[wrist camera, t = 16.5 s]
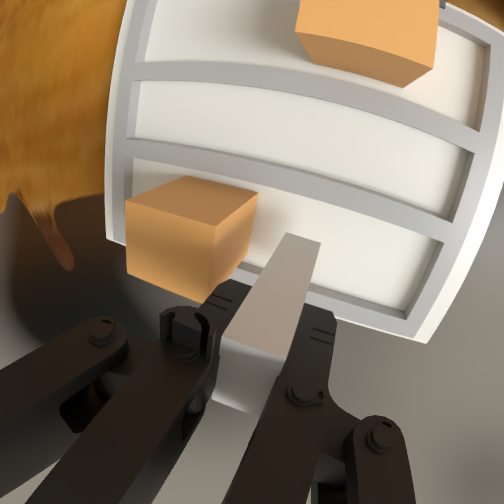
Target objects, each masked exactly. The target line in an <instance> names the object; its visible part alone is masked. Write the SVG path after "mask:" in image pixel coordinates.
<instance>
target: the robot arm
mask: <svg viewBox="0 0 504 504" xmlns="http://www.w3.org/2000/svg"><path fill="white" fill-rule="evenodd" d="M320 245H321V243H320V242H317V241H313V240H310V239H307V238H304V237H301V236H297V235H294V234H291V233H288V232H286V233H285V234H284V236H283V238H282V239H281V241H280V243H279V244H278V246H277V248H276V249H275V251H274V253H273V254H272V256H271V257H270V259H269V261H268V262H267V264H266V266H265V267H264V269H263V270H262V272H261V274H260V275H259V277H258V279H257V280H256V282H255V283H254V285H253V286H250V285H247V284H244V283H241V282H239V281H236V280H233V279H228V280H226V281H224V282H222V283H220V284H218V285H217V286H216V288H215V289H214V290H213V291H212V293H211V295H209V296H208V297H207V299H206V300H205V302H203V304H202V305H201V306H200V307H199V308H195V307H191V306H176V307H172V308H168V309H166V310H165V311H163V312H162V313H160V340H151V339H144V338H139V337H134V336H129V335H127V332H126V328H125V327H124V325H123V324H122V323H121V322H120V321H118V320H116V319H115V318H110V317H106V316H104V317H95V318H92V319H90V320H87V321H85V322H84V323H82V324H80V325H78V326H76V327H75V328H73V329H71V330H69V331H68V332H66V333H64V334H62V335H61V336H59V337H57V338H55V339H53V340H52V341H50V342H48V343H46V344H45V345H43V346H41V347H39V348H37V349H36V350H34V351H32V352H30V353H29V354H27V355H25V356H24V357H22V358H20V359H18V360H17V361H15V362H13V363H11V364H10V365H8V366H6V367H5V368H3V369H1V370H0V498H1V497H3V496H4V495H6V494H8V493H9V492H11V491H12V490H14V489H16V488H17V487H19V486H20V485H22V484H23V483H25V482H27V481H28V480H29V479H31V478H33V477H34V476H36V475H37V474H38V473H40V472H42V471H43V470H44V469H46V468H47V467H49V466H50V465H52V464H53V463H55V462H56V461H58V460H59V459H60V458H61V459H60V460H59V461H58V463H57V464H56V465H55V467H54V468H53V469H52V470H51V471H50V473H49V474H48V475H47V476H46V477H45V479H44V480H43V481H42V482H41V484H40V485H39V486H38V487H37V489H36V490H35V491H34V492H33V494H32V495H31V496H30V497H29V499H28V500H27V501H26V503H25V504H151V503H152V502H153V500H154V498H155V497H156V495H157V494H158V492H159V490H160V489H161V487H162V485H163V484H164V481H165V480H166V479H167V477H168V475H169V474H170V472H171V470H172V469H173V467H174V465H175V464H176V462H177V460H178V459H179V457H180V455H181V453H182V452H183V450H184V448H185V446H186V445H187V443H188V441H189V440H190V438H191V436H192V434H193V432H194V431H195V429H196V427H197V425H198V424H199V422H200V420H201V418H202V417H203V415H204V412H205V408H206V403H207V401H208V400H209V398H210V396H211V394H212V392H213V395H212V399H213V400H215V401H218V402H220V403H223V404H225V405H228V406H230V407H233V408H236V409H238V410H241V411H243V412H246V413H249V414H252V415H255V416H258V417H260V419H259V421H258V423H257V426H256V428H255V430H254V432H253V434H252V437H251V439H250V441H249V443H248V447H247V449H246V451H245V453H244V456H243V458H242V460H241V462H240V465H239V467H238V469H237V472H236V474H235V476H234V478H233V480H232V482H231V484H230V487H229V489H228V491H227V493H226V495H225V497H224V500H223V501H222V503H221V504H306V501H307V497H308V494H309V490H310V487H311V504H416V500H415V494H414V487H413V482H412V475H411V470H410V465H409V460H408V455H407V450H406V445H405V441H404V437H403V434H402V432H401V430H400V428H399V427H398V426H397V425H396V424H395V423H394V422H393V421H392V420H390V419H388V418H386V417H383V416H377V415H374V416H368V417H365V418H364V419H362V420H359V419H358V418H356V417H354V416H352V415H351V414H349V413H347V412H345V411H344V410H343V409H341V408H340V407H338V405H337V404H336V403H335V402H334V401H333V399H332V397H331V396H330V394H329V390H328V379H329V373H330V367H331V361H332V354H333V348H334V341H335V333H336V327H337V322H336V319H335V317H334V314H333V312H332V311H329V310H326V309H323V308H320V307H317V306H314V305H311V304H308V303H304V302H305V298H306V295H307V292H308V288H309V285H310V281H311V278H312V274H313V271H314V267H315V263H316V260H317V256H318V253H319V249H320Z"/></svg>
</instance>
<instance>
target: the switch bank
mask: <svg viewBox="0 0 504 504" xmlns="http://www.w3.org/2000/svg"><path fill="white" fill-rule="evenodd" d="M300 2H301V0H127V4H126V8H125V12H124V16H123V20H122V25H121V29H120V34H119V38H118V43H117V49H116V54H115V60H114V66H113V73H112V80H111V87H110V95H109V105H108V115H107V128H106V145H105V220H106V238H107V239H109V240H112V241H114V242H117V243H119V244H122V245H124V246H126V237H125V200H127V199H129V198H132V197H134V196H136V195H139V194H141V193H143V192H146V191H148V190H151V189H153V188H156V187H158V186H161V185H163V184H166V183H168V182H171V181H173V180H176V179H178V178H181V177H184V176H186V175H187V176H192V177H196V178H200V179H205V180H209V181H213V182H218V183H222V184H226V185H230V186H234V187H238V188H242V189H246V190H250V191H254V192H258V199H257V204H256V209H255V215H254V220H253V226H252V231H251V236H250V242H249V247H248V253H247V255H246V256H245V257H244V259H243V260H242V261H241V262H240V264H239V265H238V266H237V268H236V269H235V270H234V271H233V273H232V274H231V275H230V276H229V278H228V279H233V280H236V281H239V282H241V283H244V284H247V285H250V286H253V285H254V283H255V282H256V280H257V279H258V277H259V275H260V274H261V272H262V270H263V269H264V267H265V266H266V264H267V262H268V261H269V259H270V257H271V256H272V254H273V253H274V251H275V249H276V248H277V246H278V244H279V243H280V241H281V239H282V238H283V236H284V234H285V233H286V232H288V233H291V234H294V235H297V236H301V237H304V238H307V239H310V240H313V241H317V242H320V243H321V245H320V249H319V253H318V256H317V260H316V263H315V267H314V271H313V274H312V278H311V281H310V285H309V288H308V292H307V295H306V298H305V302H304V303H308V304H311V305H314V306H317V307H320V308H323V309H326V310H329V311H332V312H333V314H334V317H335V318H337V319H341V320H344V321H347V322H351V323H354V324H357V325H361V326H364V327H368V328H371V329H375V330H378V331H382V332H385V333H389V334H393V335H396V336H400V337H403V338H407V339H410V340H414V341H418V342H422V343H425V344H426V343H427V342H428V341H429V339H430V338H431V336H432V335H433V333H434V332H435V330H436V328H437V327H438V325H439V323H440V322H441V320H442V318H443V317H444V315H445V314H446V312H447V310H448V308H449V307H450V305H451V303H452V301H453V300H454V298H455V296H456V294H457V292H458V290H459V289H460V287H461V285H462V283H463V281H464V279H465V277H466V275H467V273H468V271H469V269H470V267H471V265H472V262H473V260H474V258H475V256H476V254H477V252H478V249H479V247H480V244H481V242H482V240H483V238H484V235H485V233H486V230H487V228H488V225H489V223H490V220H491V217H492V215H493V212H494V209H495V206H496V203H497V200H498V197H499V194H500V191H501V188H502V185H503V181H504V33H503V32H502V31H500V30H499V29H497V28H495V27H494V26H492V25H490V24H488V23H487V22H485V21H483V20H481V19H479V18H478V17H476V16H474V15H472V14H470V13H468V12H466V11H464V10H462V9H460V8H458V7H456V6H453V5H451V4H449V3H447V2H446V0H439V18H438V31H437V42H436V51H435V59H434V66H433V69H432V70H430V71H429V72H427V73H426V74H424V75H423V76H421V77H420V78H418V79H416V80H415V81H413V82H412V83H410V84H409V85H407V86H406V87H404V88H400V87H397V86H394V85H391V84H388V83H385V82H382V81H379V80H376V79H372V78H369V77H365V76H362V75H358V74H355V73H351V72H347V71H343V70H339V69H334V68H330V67H325V66H320V65H315V64H314V63H313V61H312V59H311V57H310V56H309V54H308V52H307V51H306V49H305V47H304V46H303V44H302V42H301V41H300V39H299V38H298V36H297V34H296V33H295V27H296V22H297V17H298V12H299V7H300ZM228 279H227V280H228Z"/></svg>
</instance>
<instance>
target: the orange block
mask: <svg viewBox="0 0 504 504" xmlns="http://www.w3.org/2000/svg"><path fill="white" fill-rule="evenodd" d="M438 18H439V0H301V2H300V7H299V12H298V17H297V22H296V27H295V33H296V34H297V36H298V38H299V39H300V41H301V42H302V44H303V46H304V47H305V49H306V51H307V52H308V54H309V56H310V57H311V59H312V61H313V63H314V64H315V65H320V66H325V67H330V68H334V69H339V70H343V71H347V72H351V73H355V74H358V75H362V76H365V77H369V78H372V79H376V80H379V81H382V82H385V83H388V84H391V85H394V86H397V87H400V88H404V87H406V86H407V85H409V84H410V83H412V82H413V81H415V80H416V79H418V78H420V77H421V76H423V75H424V74H426V73H427V72H429V71H430V70H432V69H433V66H434V59H435V51H436V42H437V31H438Z"/></svg>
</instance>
